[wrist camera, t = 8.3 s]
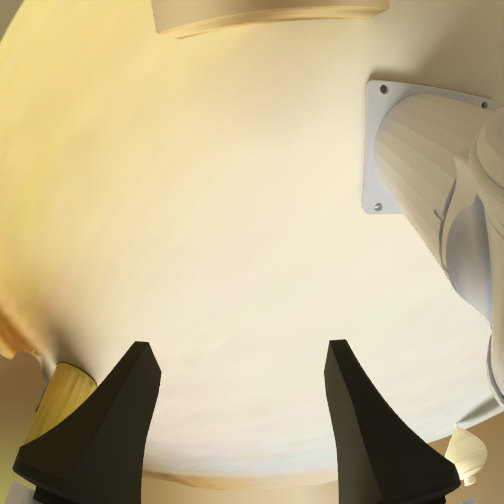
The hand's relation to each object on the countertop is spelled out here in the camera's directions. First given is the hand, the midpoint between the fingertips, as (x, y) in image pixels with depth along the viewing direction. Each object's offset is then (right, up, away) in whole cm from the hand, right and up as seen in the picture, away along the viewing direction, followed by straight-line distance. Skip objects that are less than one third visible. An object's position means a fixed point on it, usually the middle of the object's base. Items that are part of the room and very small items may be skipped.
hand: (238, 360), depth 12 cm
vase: (-22, -12, +21) cm, 33 cm away
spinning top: (+34, -24, +24) cm, 48 cm away
